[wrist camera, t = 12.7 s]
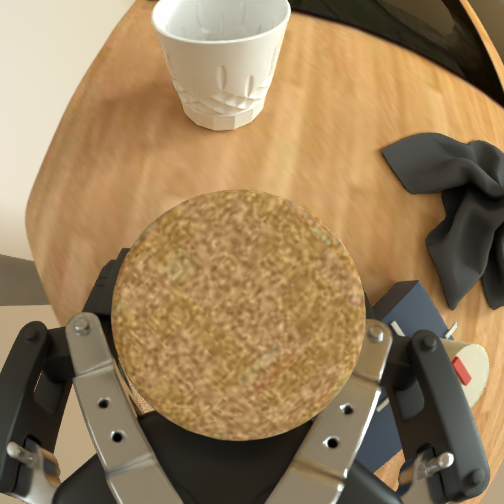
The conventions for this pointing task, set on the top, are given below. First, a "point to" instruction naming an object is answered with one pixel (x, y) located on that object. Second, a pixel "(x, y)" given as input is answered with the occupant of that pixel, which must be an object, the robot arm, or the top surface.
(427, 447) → the robot arm
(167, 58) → the white cup
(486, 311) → the top surface
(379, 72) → the top surface
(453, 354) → the knob
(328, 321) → the bottle
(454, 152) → the cloth
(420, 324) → the panel
